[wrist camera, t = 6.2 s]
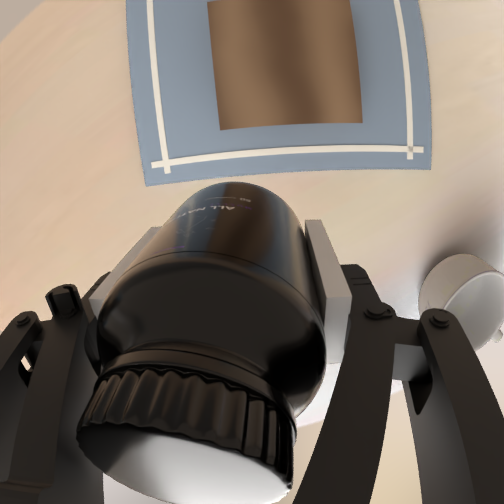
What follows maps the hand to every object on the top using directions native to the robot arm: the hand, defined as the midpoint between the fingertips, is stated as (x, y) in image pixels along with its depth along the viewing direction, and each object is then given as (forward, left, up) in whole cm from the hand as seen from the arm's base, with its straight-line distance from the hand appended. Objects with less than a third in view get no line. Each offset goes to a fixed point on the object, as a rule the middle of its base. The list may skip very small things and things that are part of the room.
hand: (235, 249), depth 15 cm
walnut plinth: (+4, +11, -14) cm, 18 cm away
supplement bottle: (0, 0, -1) cm, 1 cm away
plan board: (+4, +11, -15) cm, 19 cm away
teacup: (+24, -14, -16) cm, 32 cm away
